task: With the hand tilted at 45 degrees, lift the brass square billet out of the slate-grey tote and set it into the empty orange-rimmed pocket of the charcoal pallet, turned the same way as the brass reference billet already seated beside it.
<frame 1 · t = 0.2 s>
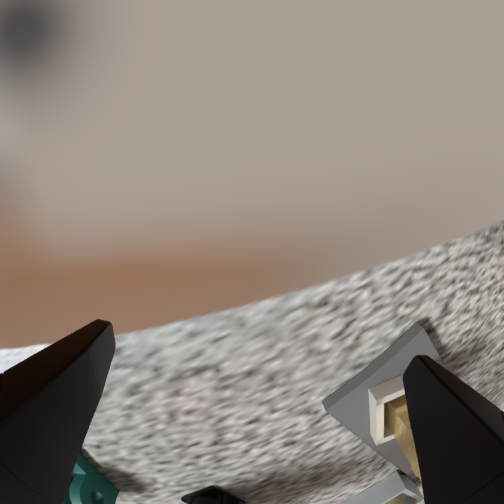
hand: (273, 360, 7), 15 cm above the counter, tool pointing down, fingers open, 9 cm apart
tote: (380, 494, 30), on the counter
bracket: (67, 452, 27), on the counter
billet: (384, 502, 28), point 2 cm above the counter, touching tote
pallet: (417, 421, 27), on the counter
reference billet: (400, 400, 24), point 1 cm above the counter, touching pallet
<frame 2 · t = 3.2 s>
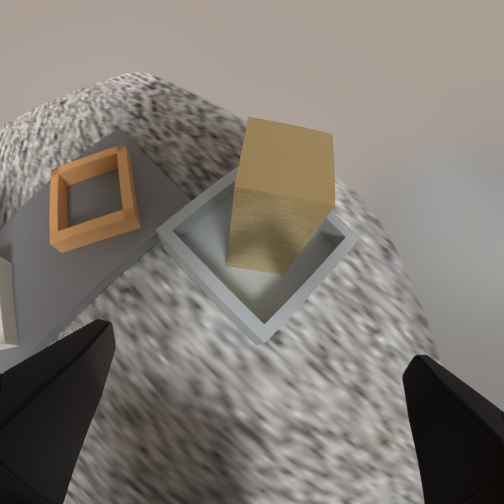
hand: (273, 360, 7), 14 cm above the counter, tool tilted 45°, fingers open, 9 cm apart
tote: (255, 253, 23), on the counter
billet: (258, 244, 21), point 2 cm above the counter, touching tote
pallet: (48, 258, 21), on the counter
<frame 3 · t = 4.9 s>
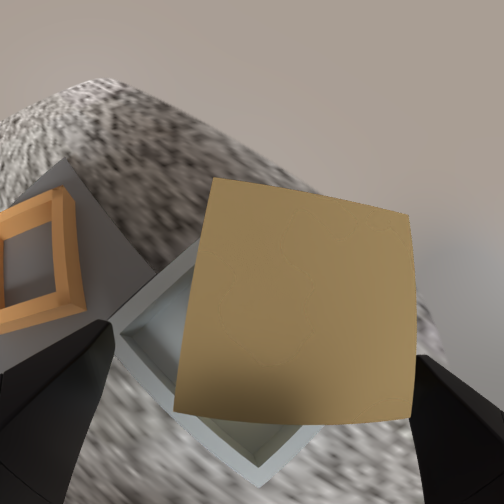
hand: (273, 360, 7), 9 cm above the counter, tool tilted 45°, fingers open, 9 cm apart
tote: (247, 344, 16), on the counter
billet: (250, 341, 14), point 2 cm above the counter, touching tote
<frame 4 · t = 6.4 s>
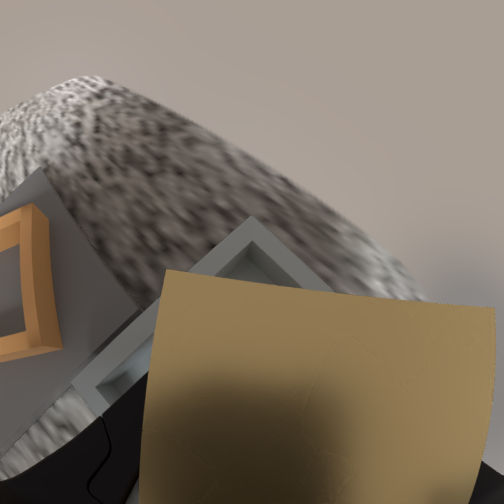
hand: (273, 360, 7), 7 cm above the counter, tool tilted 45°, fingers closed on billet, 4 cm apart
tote: (245, 386, 13), on the counter
billet: (249, 391, 11), point 2 cm above the counter, touching gripper, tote
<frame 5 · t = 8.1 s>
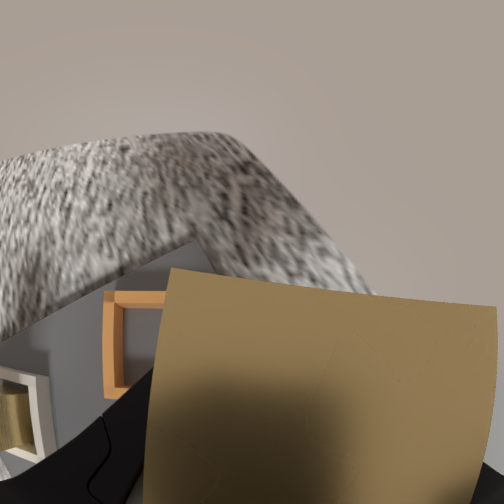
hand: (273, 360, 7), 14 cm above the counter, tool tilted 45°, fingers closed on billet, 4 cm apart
billet: (250, 391, 11), point 9 cm above the counter, touching gripper
pallet: (94, 381, 18), on the counter
reference billet: (20, 411, 15), point 1 cm above the counter, touching pallet
when the fingers open (7 cm above the counter, at t = 10.2 s): billet drops 1 cm, resting on pallet.
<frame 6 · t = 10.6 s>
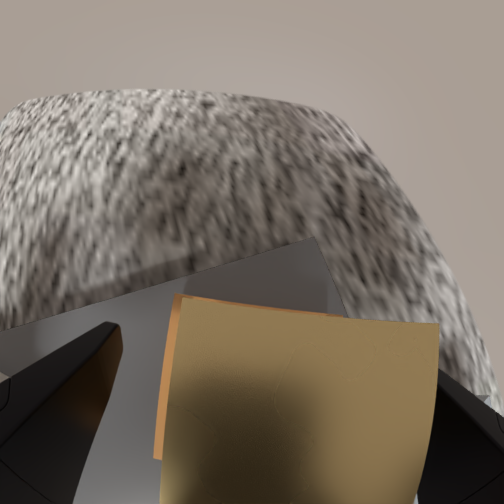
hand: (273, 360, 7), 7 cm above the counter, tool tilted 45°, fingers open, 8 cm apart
billet: (246, 387, 12), point 1 cm above the counter, touching pallet
pallet: (127, 416, 12), on the counter
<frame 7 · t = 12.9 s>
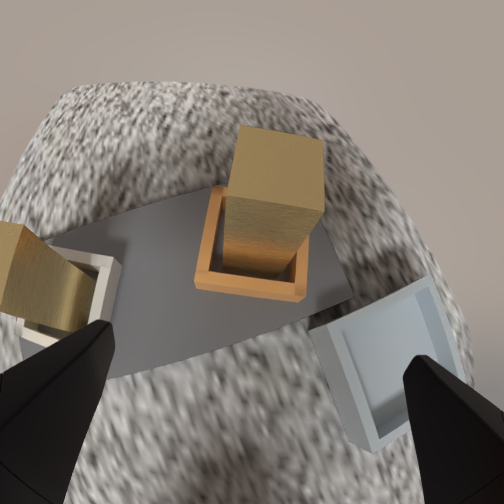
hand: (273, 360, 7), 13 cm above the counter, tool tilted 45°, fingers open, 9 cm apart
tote: (381, 362, 21), on the counter
billet: (253, 248, 21), point 1 cm above the counter, touching pallet
pallet: (170, 279, 21), on the counter
reference billet: (71, 303, 18), point 1 cm above the counter, touching pallet
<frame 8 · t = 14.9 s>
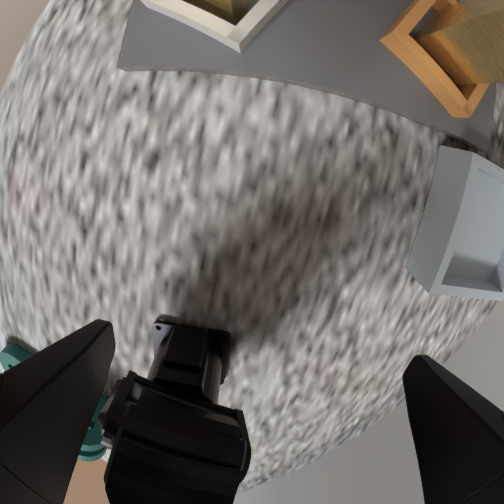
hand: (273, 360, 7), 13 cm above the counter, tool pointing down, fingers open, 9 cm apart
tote: (466, 221, 19), on the counter
bracket: (58, 382, 28), on the counter
billet: (440, 48, 13), point 1 cm above the counter, touching pallet
pallet: (349, 19, 14), on the counter
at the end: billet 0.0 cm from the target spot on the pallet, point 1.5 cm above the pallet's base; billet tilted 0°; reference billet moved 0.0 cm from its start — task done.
